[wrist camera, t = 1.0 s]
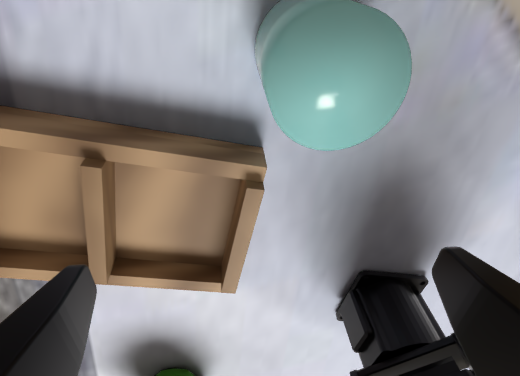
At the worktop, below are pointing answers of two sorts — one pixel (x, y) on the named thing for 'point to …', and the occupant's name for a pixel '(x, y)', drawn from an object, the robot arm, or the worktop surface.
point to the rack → (124, 203)
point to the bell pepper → (175, 372)
